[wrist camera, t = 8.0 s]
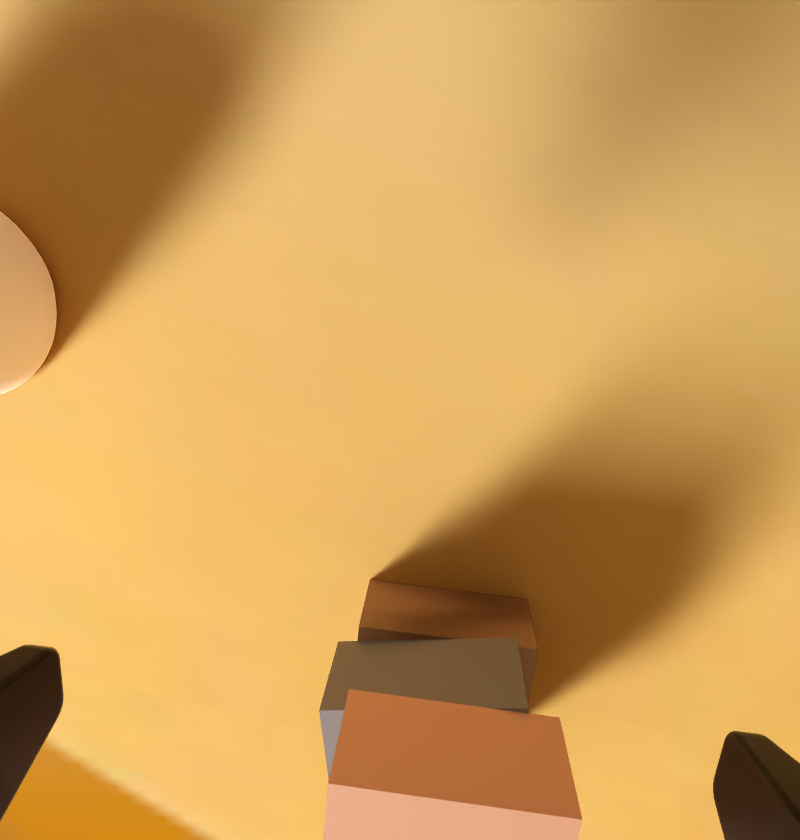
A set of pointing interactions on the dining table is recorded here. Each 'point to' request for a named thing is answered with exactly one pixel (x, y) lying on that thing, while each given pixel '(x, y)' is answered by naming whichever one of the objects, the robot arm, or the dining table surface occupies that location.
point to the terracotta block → (448, 773)
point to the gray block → (424, 676)
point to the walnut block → (447, 618)
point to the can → (23, 307)
